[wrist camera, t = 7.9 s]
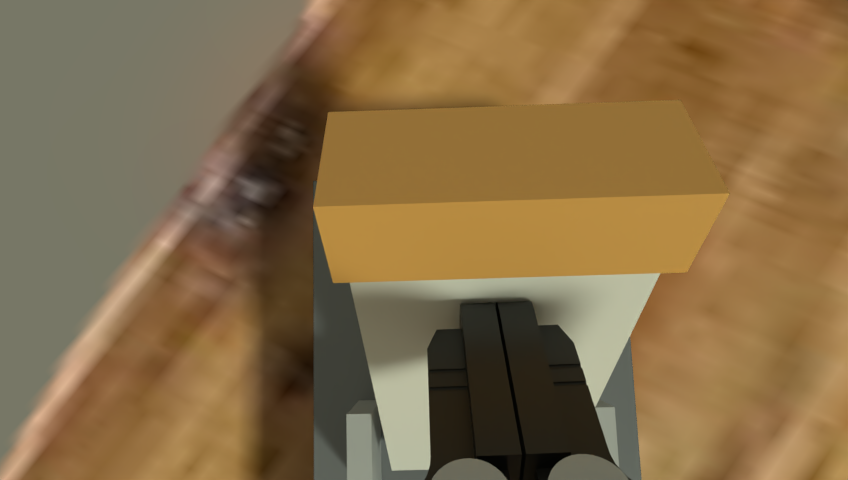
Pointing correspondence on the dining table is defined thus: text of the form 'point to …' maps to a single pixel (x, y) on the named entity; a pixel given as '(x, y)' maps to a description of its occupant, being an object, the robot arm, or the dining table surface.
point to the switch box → (357, 408)
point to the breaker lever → (506, 229)
